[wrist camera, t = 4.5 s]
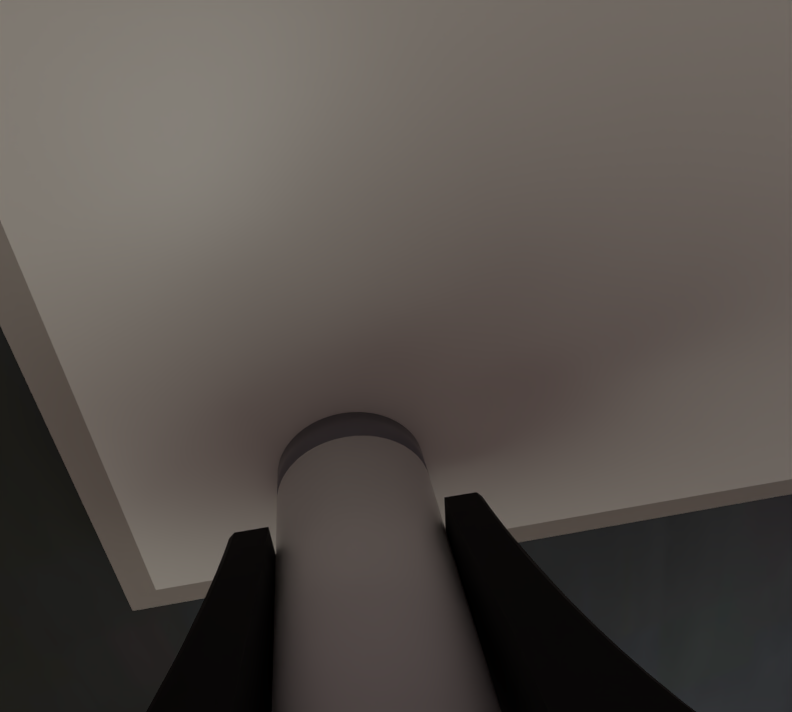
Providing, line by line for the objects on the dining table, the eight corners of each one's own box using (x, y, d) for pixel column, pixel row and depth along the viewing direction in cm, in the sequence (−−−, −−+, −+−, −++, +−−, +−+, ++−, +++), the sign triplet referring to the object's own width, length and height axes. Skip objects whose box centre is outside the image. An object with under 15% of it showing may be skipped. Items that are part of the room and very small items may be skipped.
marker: (420, 398, 12) (588, 885, 5) (429, 512, 14) (567, 994, 7) (260, 424, 12) (222, 975, 5) (290, 538, 14) (291, 1068, 7)
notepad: (1212, -283, 9) (1249, -295, 8) (870, 474, 16) (883, 483, 16) (-249, -234, 7) (-278, -247, 6) (134, 603, 14) (130, 618, 14)
